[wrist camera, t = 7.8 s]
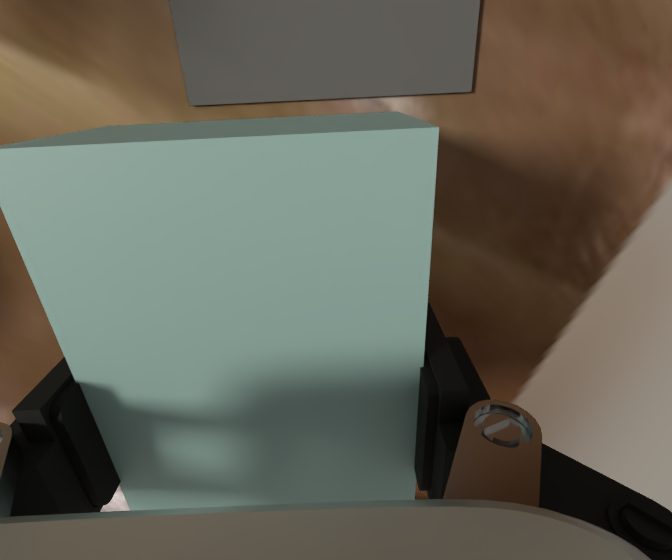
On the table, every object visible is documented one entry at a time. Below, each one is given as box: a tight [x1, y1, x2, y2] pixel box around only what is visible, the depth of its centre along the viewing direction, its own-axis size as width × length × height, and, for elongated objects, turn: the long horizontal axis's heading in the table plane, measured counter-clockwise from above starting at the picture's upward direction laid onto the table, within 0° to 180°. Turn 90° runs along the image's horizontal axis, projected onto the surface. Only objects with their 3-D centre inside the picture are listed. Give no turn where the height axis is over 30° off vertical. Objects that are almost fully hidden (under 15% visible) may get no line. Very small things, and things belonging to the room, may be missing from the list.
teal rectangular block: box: [0, 112, 439, 511], centre depth 10 cm, size 12×7×4 cm, turn 3°
